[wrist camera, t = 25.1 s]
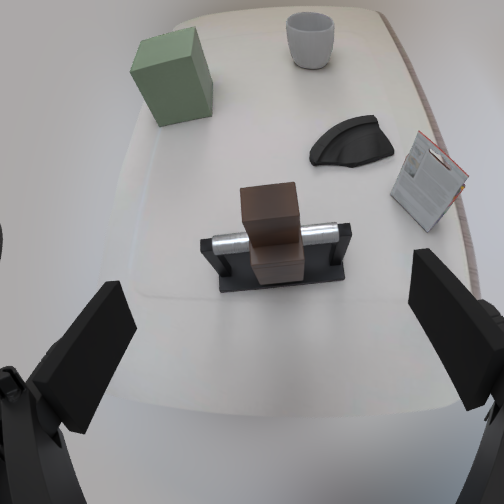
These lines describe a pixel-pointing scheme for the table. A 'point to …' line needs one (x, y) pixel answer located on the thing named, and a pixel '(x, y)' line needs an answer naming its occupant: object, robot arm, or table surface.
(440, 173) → the ink box
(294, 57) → the mug
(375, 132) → the curved wedge
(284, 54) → the table surface
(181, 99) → the plinth
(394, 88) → the table surface
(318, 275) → the rail stand
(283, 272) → the brown arch stand
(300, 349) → the table surface
